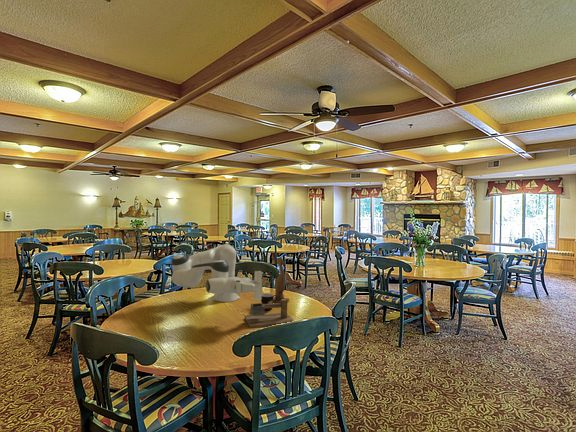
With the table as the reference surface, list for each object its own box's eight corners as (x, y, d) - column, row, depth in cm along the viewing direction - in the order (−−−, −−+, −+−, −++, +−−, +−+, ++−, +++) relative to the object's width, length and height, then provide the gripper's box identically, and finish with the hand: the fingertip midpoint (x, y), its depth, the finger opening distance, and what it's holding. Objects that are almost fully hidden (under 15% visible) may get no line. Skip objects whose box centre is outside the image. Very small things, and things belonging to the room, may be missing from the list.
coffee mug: (261, 312, 208) (261, 297, 208) (259, 308, 216) (259, 293, 216) (279, 311, 211) (279, 296, 211) (276, 307, 220) (276, 292, 219)
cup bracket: (244, 318, 197) (245, 298, 197) (286, 315, 205) (286, 295, 204) (249, 328, 182) (250, 306, 181) (294, 324, 189) (294, 303, 189)
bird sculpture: (284, 306, 224) (286, 259, 223) (268, 303, 228) (270, 257, 227) (289, 301, 235) (292, 257, 234) (274, 299, 239) (276, 255, 238)
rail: (254, 298, 192) (254, 271, 191) (260, 298, 193) (260, 271, 192) (255, 300, 188) (255, 272, 188) (261, 299, 189) (262, 272, 189)
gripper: (233, 285, 197) (255, 284, 201) (238, 295, 177) (263, 293, 181) (233, 275, 196) (256, 274, 200) (238, 283, 177) (263, 282, 181)
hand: (259, 283), depth 191 cm, fingers closed on rail, 4 cm apart
